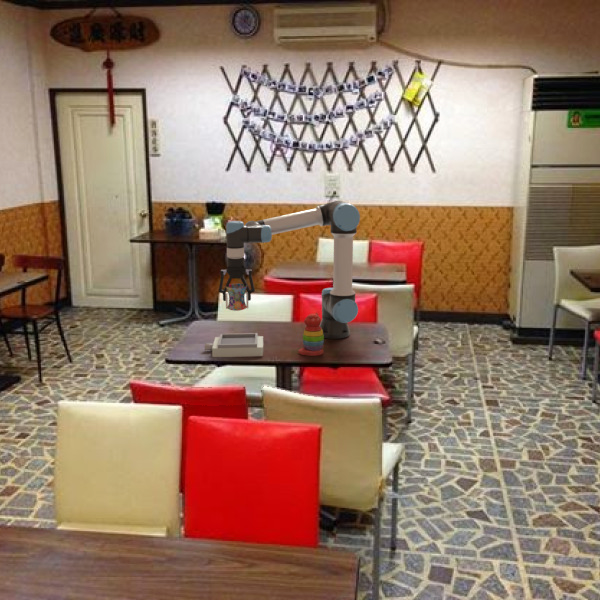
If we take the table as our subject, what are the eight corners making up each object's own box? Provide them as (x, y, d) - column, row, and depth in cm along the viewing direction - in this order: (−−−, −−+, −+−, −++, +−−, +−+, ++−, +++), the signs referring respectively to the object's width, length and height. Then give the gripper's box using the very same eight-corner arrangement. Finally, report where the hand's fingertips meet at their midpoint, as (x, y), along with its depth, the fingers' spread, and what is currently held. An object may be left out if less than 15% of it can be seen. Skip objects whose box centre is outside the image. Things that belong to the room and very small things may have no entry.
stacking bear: (311, 347, 304) (311, 309, 299) (329, 351, 297) (329, 313, 293) (296, 353, 296) (295, 314, 291) (314, 357, 289) (314, 318, 285)
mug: (243, 312, 289) (242, 288, 286) (223, 311, 291) (222, 287, 289) (252, 305, 300) (252, 282, 297) (233, 304, 302) (232, 281, 300)
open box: (263, 344, 309) (263, 333, 307) (263, 356, 292) (262, 344, 291) (206, 345, 308) (206, 334, 306) (203, 357, 291) (202, 345, 290)
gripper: (260, 255, 294) (261, 305, 299) (212, 256, 293) (213, 306, 298) (260, 258, 287) (261, 309, 292) (210, 259, 286) (212, 310, 291)
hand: (237, 307), depth 295 cm, fingers closed on mug, 8 cm apart
